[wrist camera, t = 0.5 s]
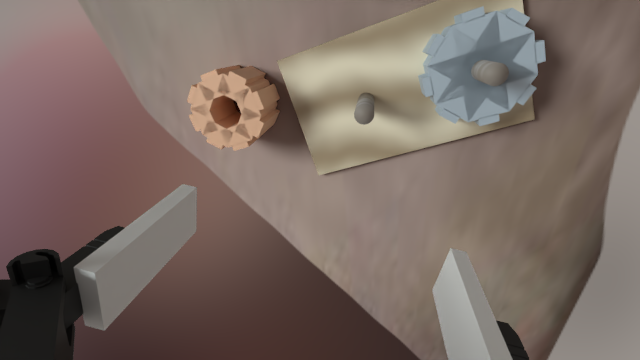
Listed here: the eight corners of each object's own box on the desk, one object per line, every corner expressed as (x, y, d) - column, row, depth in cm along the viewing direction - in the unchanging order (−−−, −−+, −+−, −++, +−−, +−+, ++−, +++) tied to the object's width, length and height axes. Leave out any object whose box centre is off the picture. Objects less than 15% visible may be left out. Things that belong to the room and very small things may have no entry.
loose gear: (203, 79, 38) (174, 85, 32) (263, 55, 35) (243, 58, 30) (231, 142, 40) (209, 158, 35) (289, 124, 38) (275, 138, 33)
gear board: (279, 60, 35) (255, 66, 28) (516, -29, 29) (561, -50, 22) (319, 172, 40) (307, 201, 33) (531, 117, 34) (572, 138, 27)
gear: (408, 32, 32) (411, 31, 29) (524, -10, 29) (539, -15, 26) (430, 130, 35) (434, 138, 32) (535, 101, 32) (549, 107, 30)
